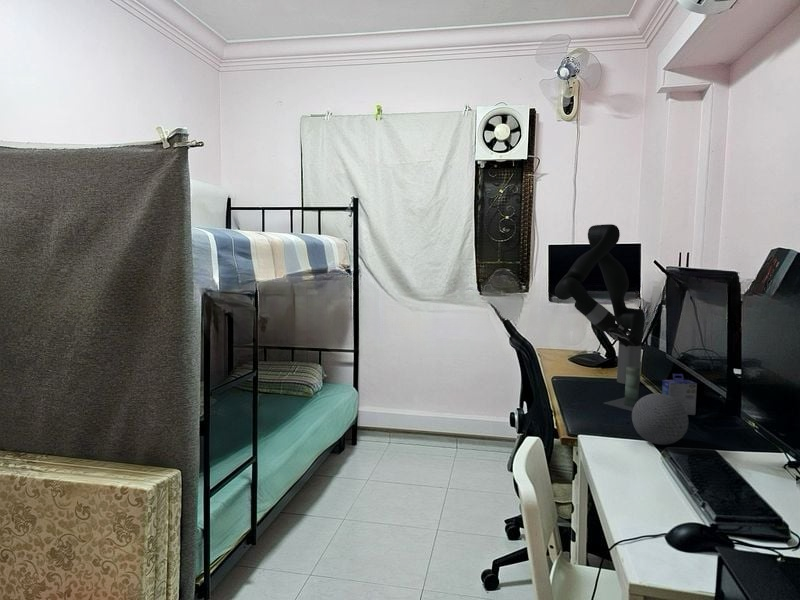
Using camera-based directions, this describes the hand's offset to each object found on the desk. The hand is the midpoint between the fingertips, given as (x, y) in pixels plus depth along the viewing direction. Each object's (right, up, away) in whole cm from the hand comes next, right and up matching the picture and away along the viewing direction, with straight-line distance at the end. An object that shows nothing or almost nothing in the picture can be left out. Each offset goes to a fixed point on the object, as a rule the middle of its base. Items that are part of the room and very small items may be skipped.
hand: (633, 345), depth 190 cm
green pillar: (-3, -22, -5) cm, 23 cm away
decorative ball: (-12, -26, -41) cm, 49 cm away
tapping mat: (-3, -23, -5) cm, 23 cm away
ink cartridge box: (+10, -24, -13) cm, 29 cm away
